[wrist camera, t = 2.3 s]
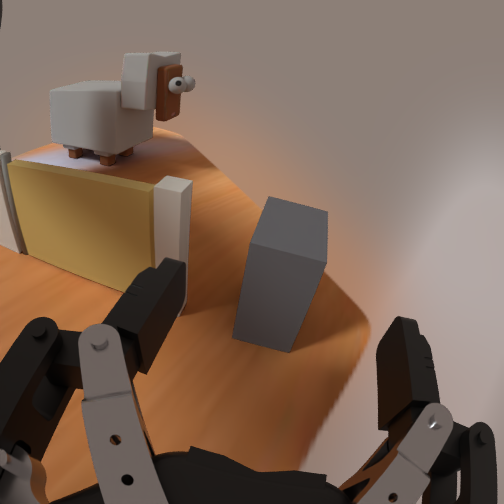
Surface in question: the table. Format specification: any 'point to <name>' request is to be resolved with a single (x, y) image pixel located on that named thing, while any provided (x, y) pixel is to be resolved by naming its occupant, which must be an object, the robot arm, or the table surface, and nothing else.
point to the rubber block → (281, 273)
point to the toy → (118, 106)
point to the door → (85, 221)
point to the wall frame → (165, 217)
